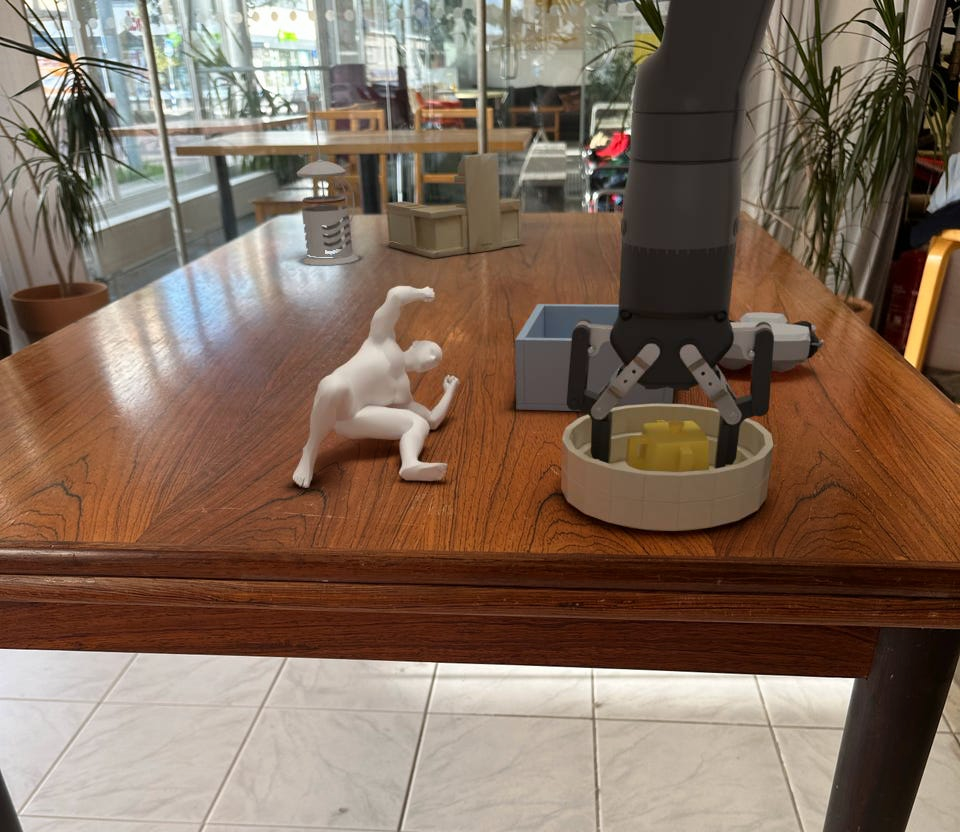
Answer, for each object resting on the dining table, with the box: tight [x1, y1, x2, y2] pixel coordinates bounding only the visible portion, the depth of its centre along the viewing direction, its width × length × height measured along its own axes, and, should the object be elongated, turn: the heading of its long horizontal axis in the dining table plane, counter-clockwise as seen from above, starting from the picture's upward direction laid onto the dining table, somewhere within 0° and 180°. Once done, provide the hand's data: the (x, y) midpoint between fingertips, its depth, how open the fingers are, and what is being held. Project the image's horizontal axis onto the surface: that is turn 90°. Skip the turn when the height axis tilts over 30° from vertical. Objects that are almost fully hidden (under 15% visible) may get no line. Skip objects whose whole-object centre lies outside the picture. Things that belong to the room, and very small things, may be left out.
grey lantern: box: [296, 92, 360, 266], centre depth 157 cm, size 10×12×25 cm
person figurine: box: [292, 285, 460, 489], centre depth 79 cm, size 13×13×18 cm
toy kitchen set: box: [386, 152, 523, 259], centre depth 166 cm, size 18×17×15 cm
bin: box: [514, 303, 674, 412], centre depth 93 cm, size 15×15×7 cm
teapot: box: [626, 420, 709, 472], centre depth 70 cm, size 8×6×5 cm
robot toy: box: [718, 311, 825, 373], centre depth 100 cm, size 12×4×15 cm
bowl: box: [560, 403, 774, 532], centre depth 71 cm, size 15×15×4 cm
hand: (661, 466), depth 71 cm, fingers open, 8 cm apart
